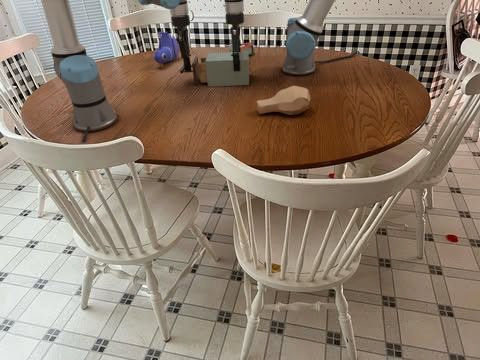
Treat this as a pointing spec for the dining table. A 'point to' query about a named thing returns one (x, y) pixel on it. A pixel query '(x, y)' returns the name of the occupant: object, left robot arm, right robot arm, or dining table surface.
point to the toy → (166, 49)
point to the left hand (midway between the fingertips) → (188, 71)
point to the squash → (286, 101)
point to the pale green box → (227, 69)
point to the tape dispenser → (245, 48)
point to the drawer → (198, 70)
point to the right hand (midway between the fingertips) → (237, 66)
